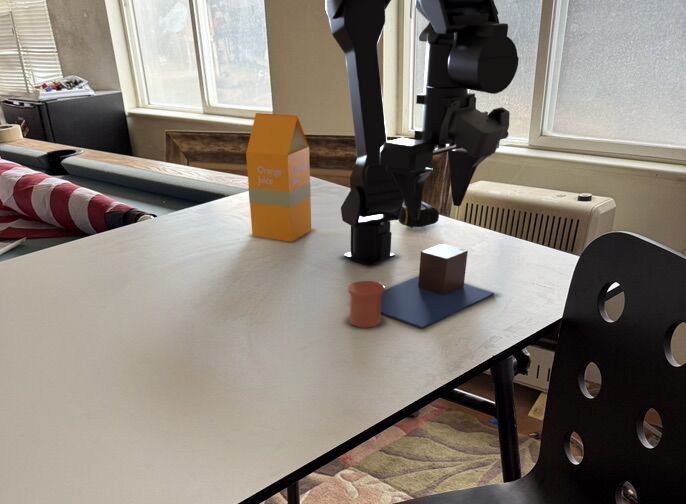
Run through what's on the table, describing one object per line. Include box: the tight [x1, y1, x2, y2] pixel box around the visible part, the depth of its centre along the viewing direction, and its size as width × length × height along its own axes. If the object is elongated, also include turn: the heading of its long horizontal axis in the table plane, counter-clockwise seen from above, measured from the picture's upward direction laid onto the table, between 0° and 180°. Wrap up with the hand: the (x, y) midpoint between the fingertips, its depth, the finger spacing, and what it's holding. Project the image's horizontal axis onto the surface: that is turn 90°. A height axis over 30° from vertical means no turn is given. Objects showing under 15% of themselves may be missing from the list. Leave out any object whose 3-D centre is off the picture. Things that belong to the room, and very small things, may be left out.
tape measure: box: [398, 201, 440, 229], centre depth 132 cm, size 7×7×4 cm
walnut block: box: [418, 243, 469, 295], centre depth 106 cm, size 5×5×6 cm
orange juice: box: [245, 112, 312, 243], centre depth 126 cm, size 8×9×20 cm
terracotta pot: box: [347, 280, 385, 329], centre depth 97 cm, size 5×5×5 cm
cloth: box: [381, 275, 495, 330], centre depth 104 cm, size 13×17×1 cm
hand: (436, 212), depth 99 cm, fingers open, 9 cm apart
